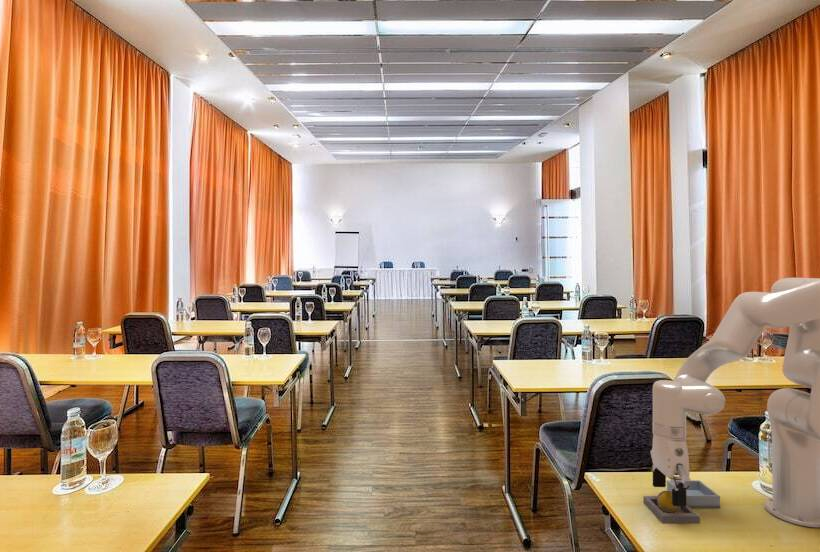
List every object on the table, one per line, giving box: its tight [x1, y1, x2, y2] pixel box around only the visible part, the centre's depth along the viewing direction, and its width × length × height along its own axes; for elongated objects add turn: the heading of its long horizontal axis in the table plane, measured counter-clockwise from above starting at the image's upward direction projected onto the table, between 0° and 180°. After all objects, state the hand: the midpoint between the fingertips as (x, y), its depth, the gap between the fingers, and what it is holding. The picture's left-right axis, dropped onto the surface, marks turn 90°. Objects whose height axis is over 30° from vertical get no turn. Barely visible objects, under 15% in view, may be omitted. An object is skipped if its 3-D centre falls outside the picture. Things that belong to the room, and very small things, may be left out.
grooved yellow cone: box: [657, 490, 681, 513], centre depth 118 cm, size 5×5×10 cm
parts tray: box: [666, 479, 721, 509], centre depth 124 cm, size 9×9×3 cm
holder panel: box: [643, 495, 701, 525], centre depth 118 cm, size 9×10×2 cm
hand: (668, 495), depth 117 cm, fingers open, 9 cm apart
